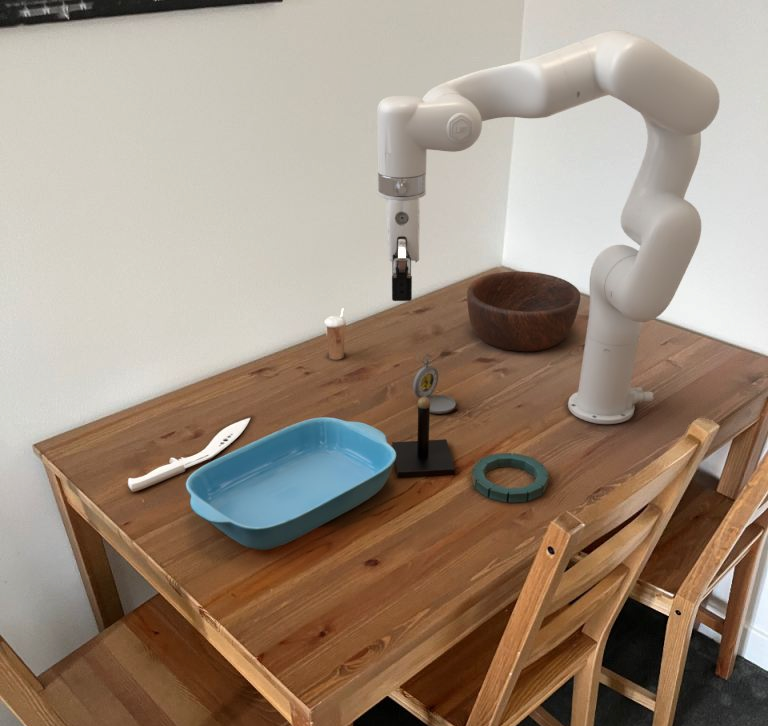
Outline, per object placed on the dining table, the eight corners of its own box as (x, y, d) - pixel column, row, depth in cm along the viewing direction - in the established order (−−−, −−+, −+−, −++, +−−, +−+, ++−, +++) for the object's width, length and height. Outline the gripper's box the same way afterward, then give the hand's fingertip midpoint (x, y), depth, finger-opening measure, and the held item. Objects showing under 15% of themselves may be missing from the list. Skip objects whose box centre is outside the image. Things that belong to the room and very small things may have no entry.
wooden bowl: (584, 358, 185) (590, 313, 179) (468, 358, 185) (471, 313, 179) (565, 312, 205) (570, 270, 199) (461, 312, 205) (463, 270, 199)
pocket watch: (453, 417, 164) (455, 370, 158) (410, 413, 166) (410, 366, 160) (458, 397, 171) (460, 351, 165) (417, 393, 172) (418, 347, 166)
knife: (249, 413, 164) (274, 427, 160) (250, 420, 165) (275, 435, 161) (108, 468, 147) (132, 486, 142) (110, 476, 148) (133, 494, 143)
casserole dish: (333, 436, 159) (331, 402, 155) (420, 483, 146) (421, 447, 142) (164, 520, 138) (157, 483, 134) (249, 583, 125) (244, 545, 121)
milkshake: (353, 353, 187) (351, 310, 181) (339, 363, 183) (337, 319, 178) (336, 349, 189) (334, 306, 183) (322, 358, 185) (319, 314, 180)
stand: (446, 444, 156) (448, 382, 149) (454, 474, 148) (458, 410, 141) (391, 447, 155) (391, 385, 148) (397, 478, 147) (397, 413, 140)
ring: (536, 459, 152) (537, 451, 151) (554, 500, 142) (556, 491, 141) (467, 463, 151) (467, 455, 150) (480, 504, 141) (480, 495, 140)
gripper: (427, 200, 126) (425, 309, 137) (424, 169, 140) (422, 270, 151) (376, 200, 127) (378, 309, 137) (379, 169, 141) (380, 270, 151)
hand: (401, 289), depth 144 cm, fingers open, 9 cm apart
